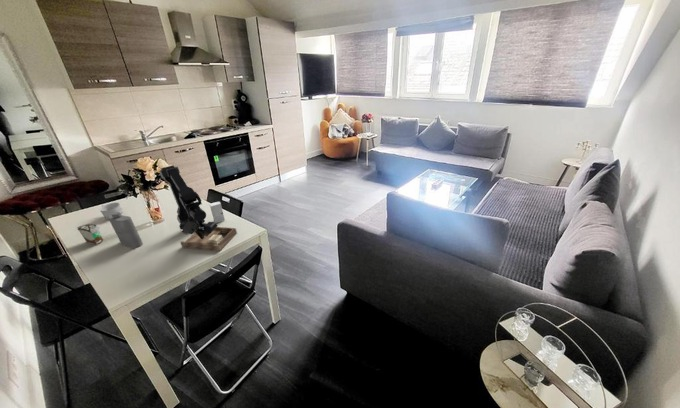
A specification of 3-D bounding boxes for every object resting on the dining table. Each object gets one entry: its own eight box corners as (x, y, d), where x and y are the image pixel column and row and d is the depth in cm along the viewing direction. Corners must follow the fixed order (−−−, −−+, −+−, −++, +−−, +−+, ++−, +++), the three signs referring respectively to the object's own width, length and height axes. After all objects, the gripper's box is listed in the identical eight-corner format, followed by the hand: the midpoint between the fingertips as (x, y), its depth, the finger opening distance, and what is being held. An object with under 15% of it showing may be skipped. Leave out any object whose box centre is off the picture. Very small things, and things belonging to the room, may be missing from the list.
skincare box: (215, 223, 165) (210, 206, 159) (213, 220, 168) (208, 203, 162) (225, 220, 168) (220, 203, 162) (224, 217, 171) (219, 201, 165)
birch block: (209, 244, 142) (208, 239, 140) (215, 238, 146) (213, 234, 145) (217, 245, 141) (216, 240, 140) (223, 239, 145) (221, 235, 144)
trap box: (182, 247, 143) (180, 241, 142) (202, 230, 158) (200, 224, 156) (220, 251, 139) (218, 245, 137) (237, 233, 154) (235, 227, 152)
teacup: (127, 215, 179) (122, 204, 175) (108, 222, 171) (102, 211, 167) (118, 210, 185) (113, 200, 182) (99, 217, 177) (94, 206, 174)
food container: (110, 239, 153) (102, 224, 148) (99, 245, 148) (90, 230, 143) (96, 235, 157) (88, 221, 152) (84, 241, 152) (76, 227, 147)
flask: (117, 243, 149) (101, 213, 139) (128, 238, 153) (113, 208, 144) (134, 249, 143) (118, 218, 134) (144, 243, 148) (130, 213, 138)
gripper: (167, 220, 131) (177, 246, 139) (200, 223, 128) (208, 249, 136) (182, 210, 141) (191, 234, 148) (214, 212, 138) (221, 236, 145)
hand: (202, 238), depth 144 cm, fingers closed
